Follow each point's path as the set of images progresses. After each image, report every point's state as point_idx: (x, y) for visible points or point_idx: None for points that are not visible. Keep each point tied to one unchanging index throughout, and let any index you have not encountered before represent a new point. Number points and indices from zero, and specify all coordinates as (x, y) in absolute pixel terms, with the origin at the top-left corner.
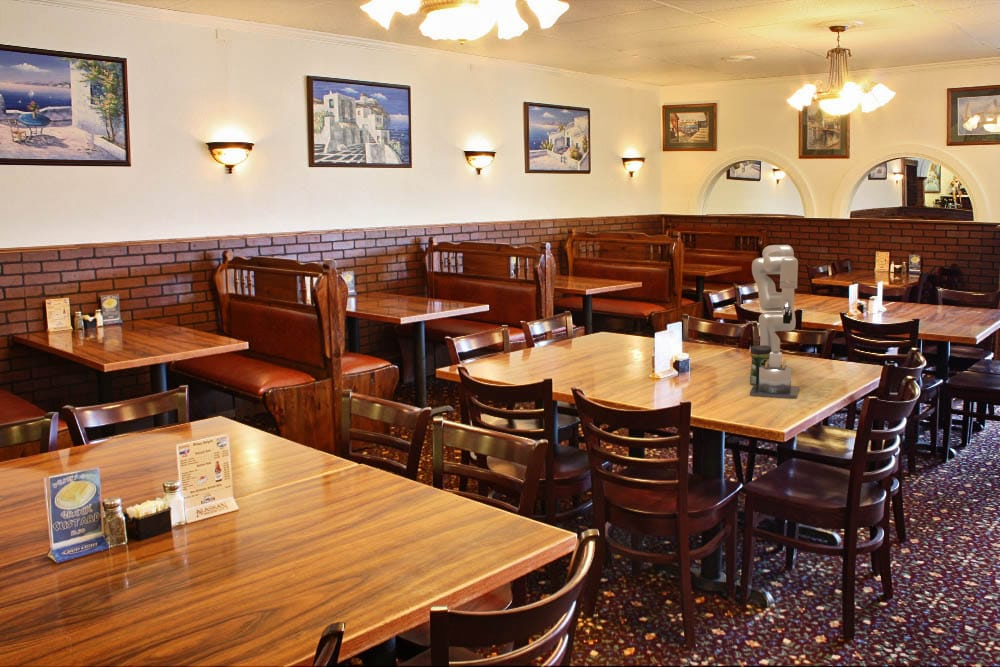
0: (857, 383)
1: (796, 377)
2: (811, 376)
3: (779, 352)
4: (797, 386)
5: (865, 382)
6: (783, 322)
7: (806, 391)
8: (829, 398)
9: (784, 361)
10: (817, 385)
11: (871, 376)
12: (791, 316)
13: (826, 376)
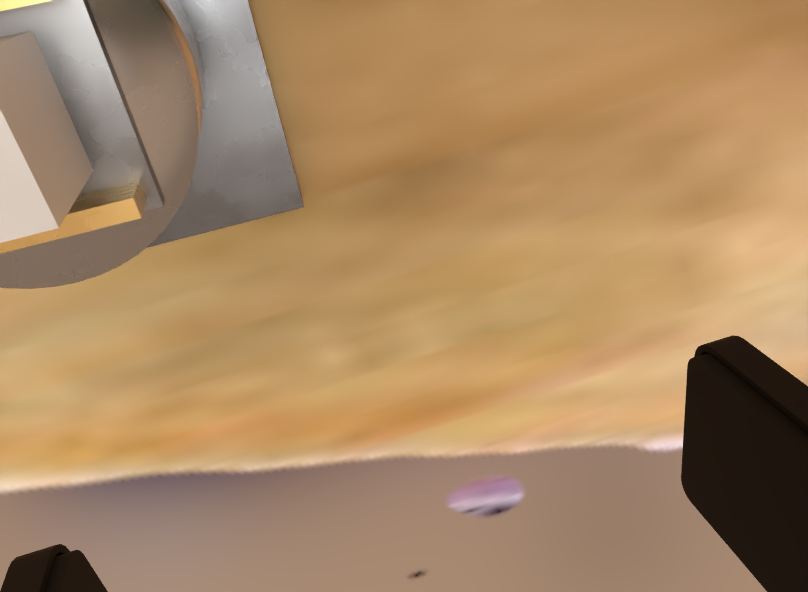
0: (613, 410)
1: (699, 52)
2: (750, 138)
3: (27, 199)
4: (285, 199)
5: (648, 430)
6: (11, 586)
7: (260, 261)
8: (138, 435)
9: (77, 224)
10: (483, 259)
11: None
12: (758, 580)
13: (764, 220)
